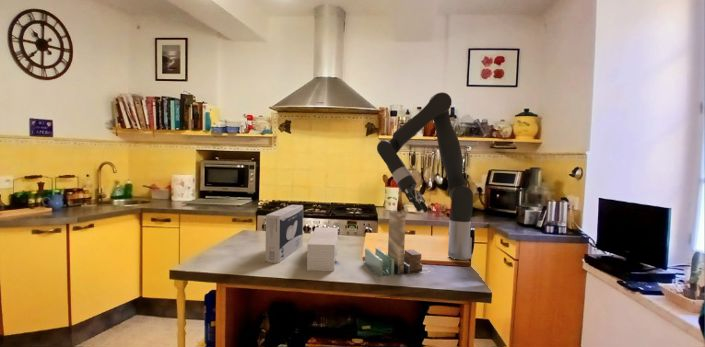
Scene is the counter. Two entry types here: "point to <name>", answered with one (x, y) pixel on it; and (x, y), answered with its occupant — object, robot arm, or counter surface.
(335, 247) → the stack of papers
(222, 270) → the counter surface
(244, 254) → the counter surface
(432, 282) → the counter surface
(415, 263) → the offcut stack
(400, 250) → the birch panel
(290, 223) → the packaging
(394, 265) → the rack
